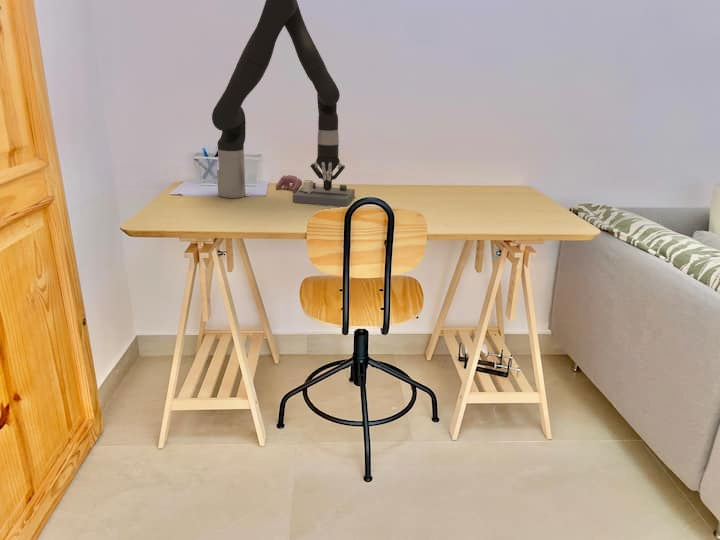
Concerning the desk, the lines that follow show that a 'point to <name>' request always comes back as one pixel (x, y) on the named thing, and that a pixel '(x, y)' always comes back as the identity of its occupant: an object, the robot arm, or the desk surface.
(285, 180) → the maroon arched lump
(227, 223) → the desk surface
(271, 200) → the desk surface
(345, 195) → the console
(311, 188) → the fader knob
